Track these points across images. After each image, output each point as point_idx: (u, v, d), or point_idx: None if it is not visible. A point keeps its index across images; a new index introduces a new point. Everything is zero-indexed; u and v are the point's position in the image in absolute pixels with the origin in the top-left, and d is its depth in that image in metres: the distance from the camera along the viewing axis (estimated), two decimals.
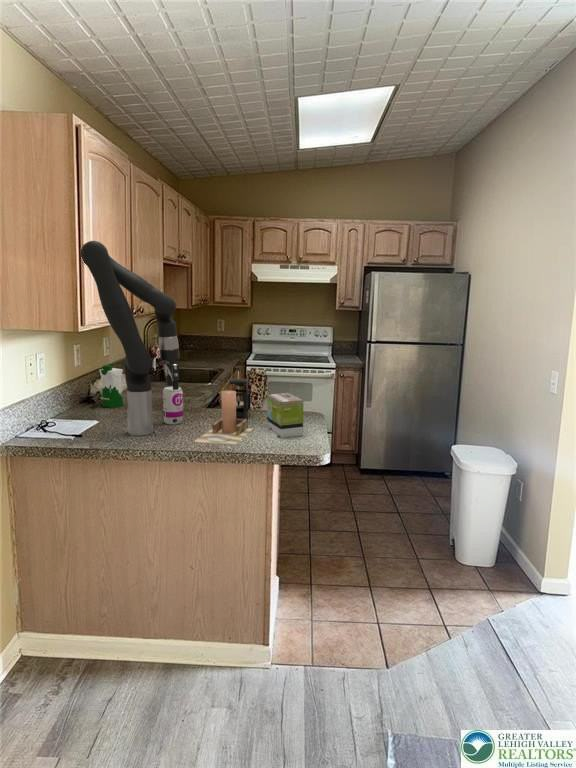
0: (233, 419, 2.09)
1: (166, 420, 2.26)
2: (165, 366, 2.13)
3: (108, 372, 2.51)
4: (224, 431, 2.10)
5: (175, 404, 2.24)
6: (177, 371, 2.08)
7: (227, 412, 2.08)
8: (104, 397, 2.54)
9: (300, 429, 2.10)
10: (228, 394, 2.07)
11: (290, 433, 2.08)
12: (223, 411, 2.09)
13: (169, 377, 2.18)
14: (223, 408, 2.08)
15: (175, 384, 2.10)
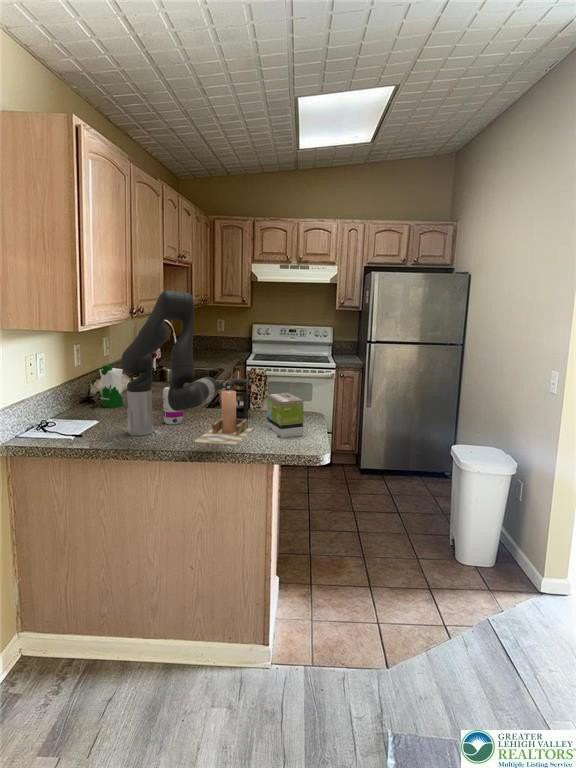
0: (233, 419, 2.09)
1: (166, 420, 2.26)
2: None
3: (108, 372, 2.51)
4: (224, 431, 2.10)
5: None
6: None
7: (227, 412, 2.08)
8: (104, 397, 2.54)
9: (300, 429, 2.10)
10: (228, 394, 2.07)
11: (290, 433, 2.08)
12: (223, 411, 2.09)
13: None
14: (223, 408, 2.08)
15: None
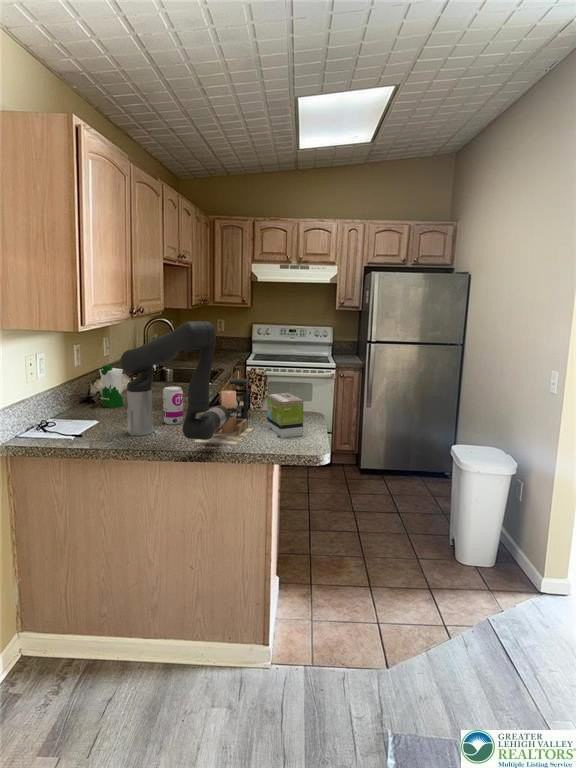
0: (233, 419, 2.09)
1: (166, 420, 2.26)
2: None
3: (108, 372, 2.51)
4: (224, 431, 2.10)
5: (175, 404, 2.24)
6: None
7: None
8: (104, 397, 2.54)
9: (300, 429, 2.10)
10: (228, 394, 2.07)
11: (290, 433, 2.08)
12: None
13: None
14: None
15: None
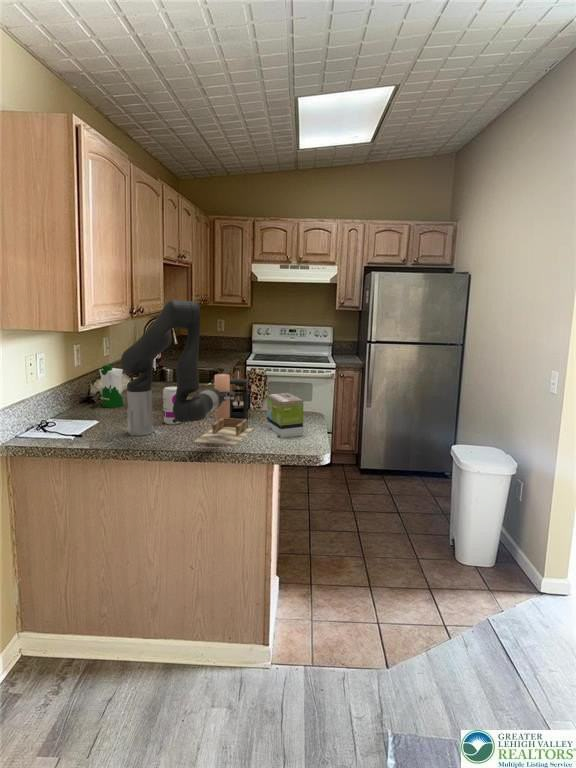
0: (227, 404, 2.01)
1: (166, 420, 2.26)
2: None
3: (108, 372, 2.51)
4: (217, 416, 2.01)
5: None
6: None
7: None
8: (104, 397, 2.54)
9: (300, 429, 2.10)
10: (221, 377, 1.98)
11: (290, 433, 2.08)
12: None
13: None
14: None
15: None
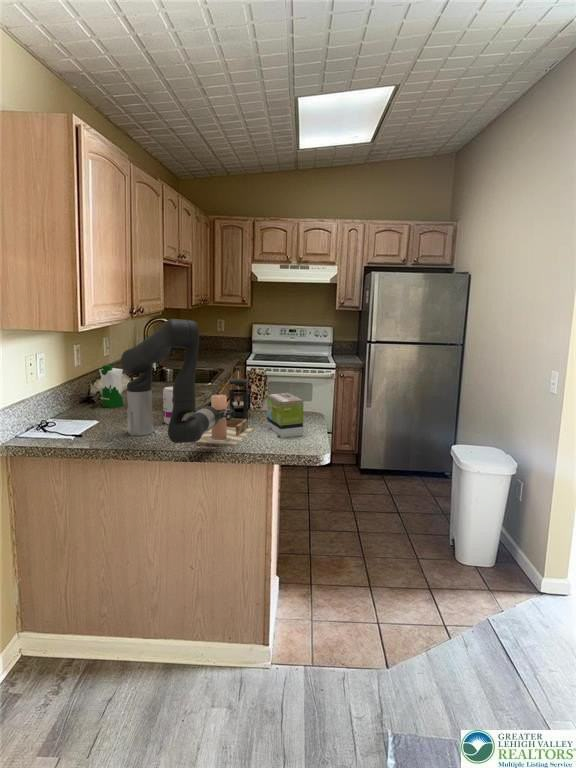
0: (223, 425, 1.99)
1: (166, 420, 2.26)
2: None
3: (108, 372, 2.51)
4: (214, 437, 1.99)
5: None
6: None
7: None
8: (104, 397, 2.54)
9: (300, 429, 2.10)
10: (218, 398, 1.96)
11: (290, 433, 2.08)
12: None
13: None
14: None
15: None
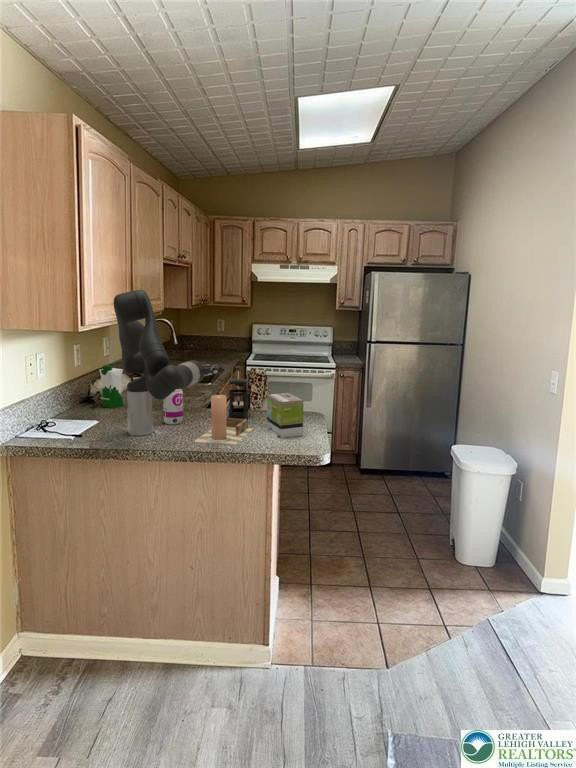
0: (223, 425, 1.98)
1: (166, 420, 2.26)
2: None
3: (108, 372, 2.51)
4: (214, 438, 1.99)
5: (175, 404, 2.24)
6: None
7: (216, 417, 1.97)
8: (104, 397, 2.54)
9: (300, 429, 2.10)
10: (218, 399, 1.96)
11: (290, 433, 2.08)
12: (213, 417, 1.98)
13: None
14: (213, 413, 1.98)
15: None
